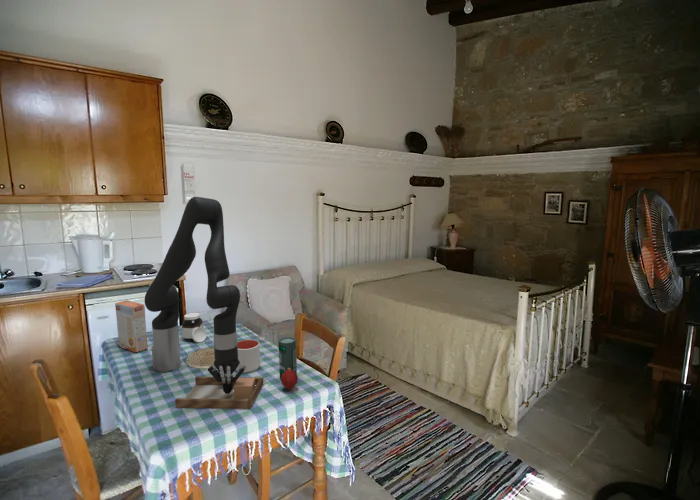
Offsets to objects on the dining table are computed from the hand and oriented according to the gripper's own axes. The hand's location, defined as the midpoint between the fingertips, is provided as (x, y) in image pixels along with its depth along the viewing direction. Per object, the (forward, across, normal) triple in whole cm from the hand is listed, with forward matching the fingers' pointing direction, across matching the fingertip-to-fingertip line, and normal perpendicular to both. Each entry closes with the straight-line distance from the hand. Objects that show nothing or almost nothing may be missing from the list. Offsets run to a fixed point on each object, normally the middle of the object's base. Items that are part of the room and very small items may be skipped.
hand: (228, 392), depth 131 cm
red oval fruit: (+2, +20, +6) cm, 21 cm away
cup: (+2, 0, +22) cm, 22 cm away
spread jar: (+2, -34, +52) cm, 62 cm away
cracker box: (+2, -58, +40) cm, 70 cm away
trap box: (+1, -2, 0) cm, 3 cm away
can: (+2, +18, +14) cm, 23 cm away
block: (+1, +6, +1) cm, 6 cm away
